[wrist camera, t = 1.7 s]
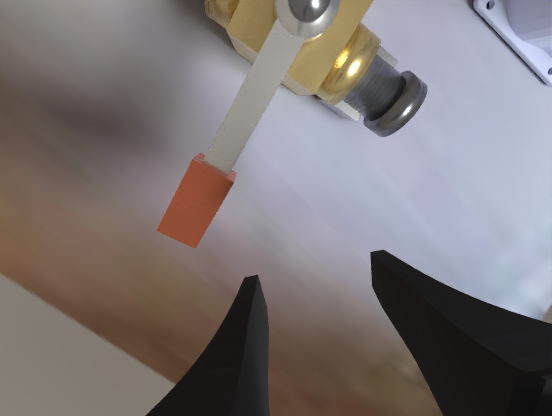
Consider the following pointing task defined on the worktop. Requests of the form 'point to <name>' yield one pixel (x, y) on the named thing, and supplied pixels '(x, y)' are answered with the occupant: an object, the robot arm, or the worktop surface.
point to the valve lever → (243, 118)
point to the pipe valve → (332, 63)
